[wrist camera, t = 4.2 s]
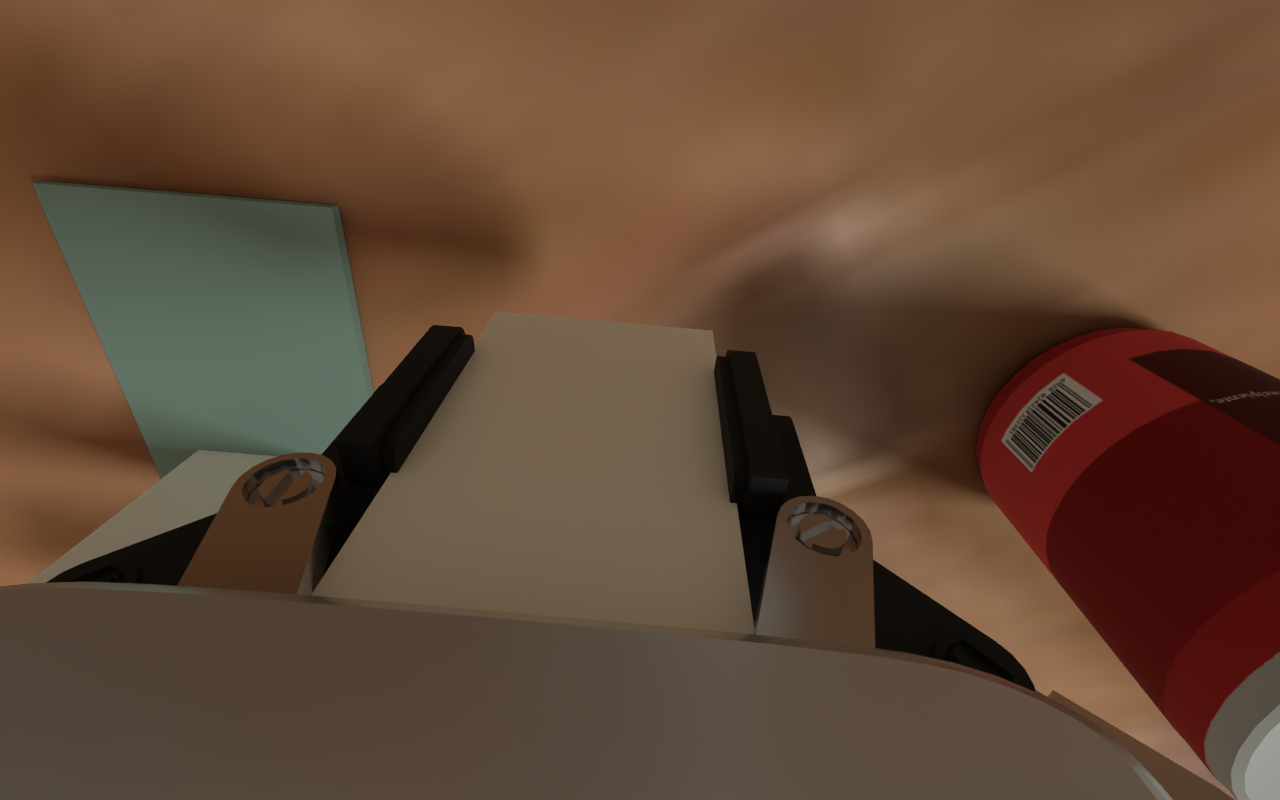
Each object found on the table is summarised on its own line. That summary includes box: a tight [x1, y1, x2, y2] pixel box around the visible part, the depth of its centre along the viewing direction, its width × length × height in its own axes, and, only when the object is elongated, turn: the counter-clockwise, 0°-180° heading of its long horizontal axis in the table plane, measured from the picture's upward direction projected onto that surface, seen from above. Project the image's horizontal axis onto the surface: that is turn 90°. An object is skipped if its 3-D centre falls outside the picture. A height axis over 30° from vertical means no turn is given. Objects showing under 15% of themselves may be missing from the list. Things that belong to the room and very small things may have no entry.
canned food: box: [977, 327, 1280, 800], centre depth 15 cm, size 8×8×11 cm
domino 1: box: [27, 450, 277, 584], centre depth 18 cm, size 2×5×9 cm, turn 86°
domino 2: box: [312, 312, 754, 634], centre depth 10 cm, size 2×5×9 cm, turn 86°
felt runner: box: [32, 181, 373, 479], centre depth 25 cm, size 32×9×1 cm, turn 176°
